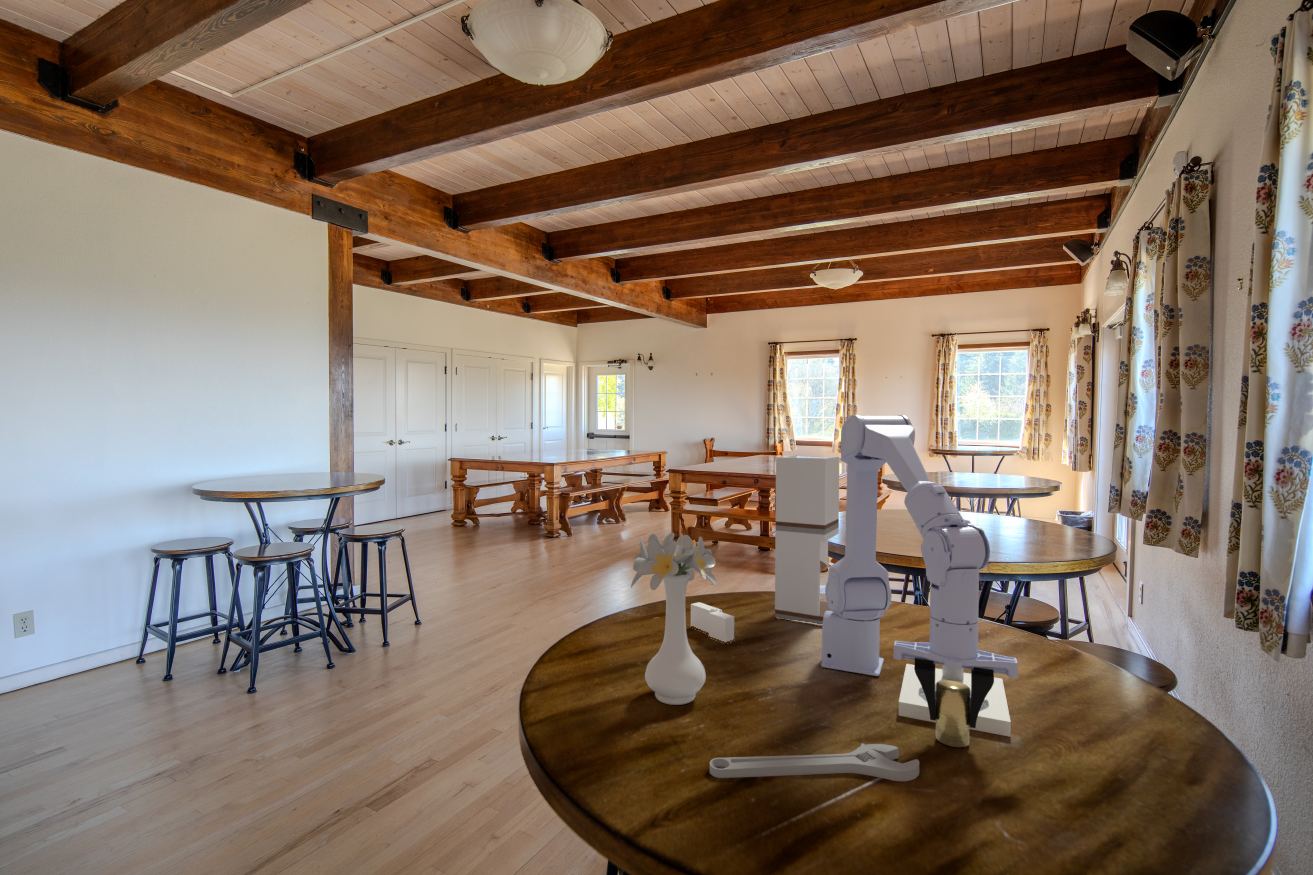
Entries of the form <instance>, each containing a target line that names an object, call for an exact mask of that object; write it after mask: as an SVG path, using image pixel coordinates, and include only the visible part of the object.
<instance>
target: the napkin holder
mask: <svg viewBox="0 0 1313 875" xmlns="http://www.w3.org/2000/svg"><path fill="white" fill-rule="evenodd" d="M691 626H694V627H696V628H698V629H701V630H703V631H706V632H708V633H709V634H708V637H709V636H710V637H713V638H716V639H719V640H721V641H724V642H727V641H730V640H733V639H734V640H735V616H734V615H731V614H729V613H725V612H723V609H720V608H718V607H715V606H712V605H708V604H706V603H703V602H694V603H691V604H690V627H691Z"/></svg>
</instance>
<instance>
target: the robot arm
mask: <svg viewBox="0 0 1313 875" xmlns="http://www.w3.org/2000/svg"><path fill="white" fill-rule="evenodd" d="M915 440H916V429H915V428H914V427H913V423H912V422H911V420H910V419H909V417H908V416H906V415H903V414H899V415H858V414H851V415H849V416H848V417H847V419H846V420H845V421H844V423H843V424H842V425H841V430H840V461H841V462H843V463H845V464H846V467H847V468H846V500H845V502H846V503H845V504H846V505H845V536H844V537H845V546H844V551H845V552H844V556H843V557H842V558H841V559H840V560H838V561H837V562H835V563H833V564H832V565H831V566H830V567H828V576H827V581H826V582H825V587H824V588H825V589H824V590H825V600H826V601H825V602H827V604H828V606H829V608H830V609H831V610H832V611H825V614H824V617H823V625H822V626H821V627H822V629H821V633H822V634H821V664H820V666H821V667H822V668H827V669H833V670H838V671H844V672H851V673H857V674H861V675H862V674H863V675H867V676H875V677H879V676H880V674H881V671H882V668H883V665H884V661H885V660H884V658H883V657H880V621H881V619H880V618H884V616H885V614H884V612H886V611H888V609H889V608H890V606H891V604H892V599H893V598H892V589H891V585H890V578H889V571H888V570H887V569H886V568H885V567H884V566H883V565H882V564H881V563H879V562H878V561H877V524H878V523H877V522H878V521H877V520H878V485H879V484H878V483H879V479H878V478H879V470H880V469H881V468H882V467H883V466H884V465H885V464H887V465H888V466H889V468H890V470H891V471H892V472H893V474H894V476H896V478H897V479H898V481H899V482H900V484H901V485H902V487H903V489H904V490H905V491H906V495H905V496H904V506H905V507H906V509H907V510H906V511H907V512H908V513H909V515H910V517H911V518H912V520H913V522H914V523H915V525H916V528H917V529H918V531H919V533H920V535H921V537H922V538H923V540H922V543H921V544H920V551H921V556H922V558H923V559H922V560H923V562H924V565H925V577H926V580H927V581H928V582H930V585H929V586H930V588H929V589H930V590H929V591H930V593H929V594H930V595H929V600H930V601H929V604H930V606H929V642H922V641H921V642H919V641H918V642H916V641H913V642H912V641H901V640H894V643H893V660H897V661H898V660H899V661H902V660H910V661H914V665H915V667H914V670H915V673H916V676H917V678H918V679H919V682H920V684H921V686H922V688H923V691H924V694H925V697H926V700H927V703H928V707H929V713H930V720H934V721H936V695H935V668H936V665H941V666H943V665H947V666H952V667H959V668H964V669H968V670H970V672H971V673H970V674H971V700H970V720H969V726H970V727H971V728H976V721H977V717H978V714H979V711H980V708H981V705H982V703H983V701H984V699H985V697H986V696H987V694H988V692H989V691H990V689H991V688H992V686H993V684H994V676H995V675H994V674H999V675H1006V676H1007V677H1008V678H1014V679H1018V675H1019V674H1018V669H1019V668H1018V666H1019V664H1018V659H1017V658H1016V657H1014V656H1013V657H1012V656H1006V655H1001V654H996V653H994V652H989V651H984V650H980V649H979V606H980V605H979V601H980V600H979V597H980V596H979V595H980V594H979V593H980V592H979V591H980V590H979V589H980V571H981V570H983V569H984V568H986V566H987V565H988V563H989V561H990V557H991V546H990V542H989V540H988V537H987V535H986V533H985V531H984V529H983V528H982V527H980V526H979V525H976V524H972V523H971V521H970V520H968V519H964V518H963V516H962V515H961V513H960V512H959V509H958V508H957V507H956V504H954V502H953V500H952V499H951V496H950V495H949V494H948V492H947V491H946V489H945V488H944V486H943V485H942V484H940V483H938V482H934V481H933V482H932V481H931V480H930V477H929V476H928V474H927V471H926V469H925V467H924V465H923V463H922V460H921V459H920V456H919V455H918V453H917V450H916V448H915V446H914V445H915Z"/></svg>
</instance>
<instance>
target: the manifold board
mask: <svg viewBox="0 0 1313 875" xmlns="http://www.w3.org/2000/svg"><path fill="white" fill-rule="evenodd" d="M941 666H942V668H937V667H935V695H936V683H937V682H938V681H942V680H951V681H956V682H960V683H963V684H965V685H967V686H968V687H969V688H970V700H971V673H969V672H965V671H964V669H965V668H959V667H952V666H947V665H941ZM914 667H915V664H911V663H906V665H905V668H904V669H905V670H904V674H903V678H902V683H901V684H902V685H901V689H900V694H899V698H898V716H900V717H904V718H910V719H914V720H919V721H925V722H930V723H935V724H936V721H934V720H930V713H929V707H928V703H927V700H926V697H925V694H924V691H923V688H922V686H921V684H920V682H919V679H918V678H917V676H916V673H915V670H914ZM1006 696H1007V694H1006V690H1005V686H1004V680H1003V678H1000V677H994V684H993V686H992V688H991V689H990V691H989V692H988V694H987V696H986V697H985V699H984V701H983V703H982V705H981V708H980V711H979V714H978V717H977V721H976V728H971V727H970V729H969V730H972V731H978V732H982V733H989V734H993V735H994V734H995V735H999V736H1005V737H1009V738H1011V732H1012V731H1011V727H1012V726H1011V725H1012V724H1011V722H1012V721H1011V716H1010V712H1009V707H1008V702H1007V697H1006Z"/></svg>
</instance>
